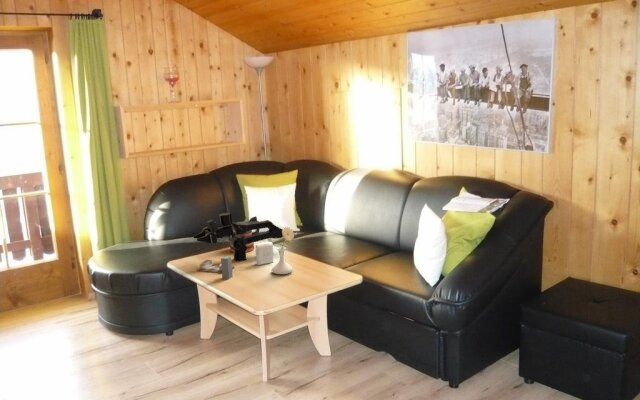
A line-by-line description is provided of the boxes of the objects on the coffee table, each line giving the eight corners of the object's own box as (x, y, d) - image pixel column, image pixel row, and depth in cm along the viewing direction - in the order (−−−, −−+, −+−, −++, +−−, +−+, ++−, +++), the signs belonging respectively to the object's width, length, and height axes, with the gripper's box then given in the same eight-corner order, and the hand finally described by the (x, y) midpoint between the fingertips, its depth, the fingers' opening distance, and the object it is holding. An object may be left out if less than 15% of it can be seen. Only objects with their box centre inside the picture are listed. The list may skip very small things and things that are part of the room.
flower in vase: (276, 277, 312) (274, 231, 307) (268, 271, 322) (266, 227, 317) (299, 273, 318) (297, 228, 313) (290, 267, 328) (288, 223, 323)
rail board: (196, 271, 327) (196, 263, 326) (206, 265, 336) (205, 258, 335) (225, 273, 321) (225, 266, 320) (234, 268, 330) (234, 261, 329)
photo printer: (271, 260, 342) (270, 239, 339) (274, 262, 338) (273, 241, 336) (255, 264, 336) (254, 242, 334) (258, 265, 333) (257, 244, 330)
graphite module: (225, 276, 317) (224, 256, 315) (232, 276, 316) (231, 256, 313) (222, 278, 313) (220, 258, 311) (228, 279, 312) (227, 259, 310)
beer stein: (255, 244, 377) (253, 213, 373) (264, 249, 364) (262, 217, 360) (226, 248, 368) (224, 217, 364) (235, 254, 355) (233, 222, 351)
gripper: (215, 216, 344) (189, 222, 338) (223, 221, 327) (196, 227, 321) (219, 234, 346) (192, 240, 340) (227, 240, 329) (199, 247, 324)
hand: (195, 238), depth 331 cm, fingers open, 9 cm apart
